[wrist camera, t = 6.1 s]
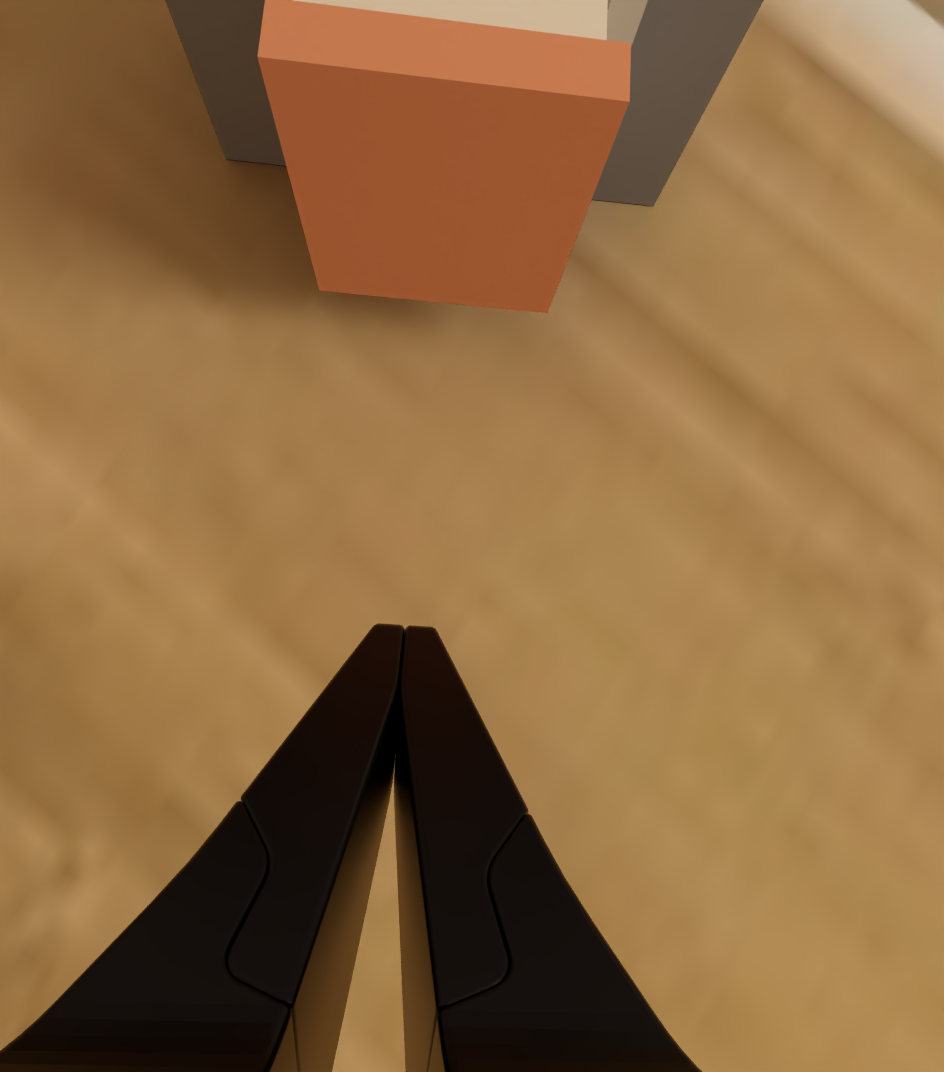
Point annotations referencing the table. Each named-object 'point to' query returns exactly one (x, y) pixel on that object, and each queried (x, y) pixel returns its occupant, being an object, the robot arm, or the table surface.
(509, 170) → the plunger
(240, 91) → the box
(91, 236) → the table surface
